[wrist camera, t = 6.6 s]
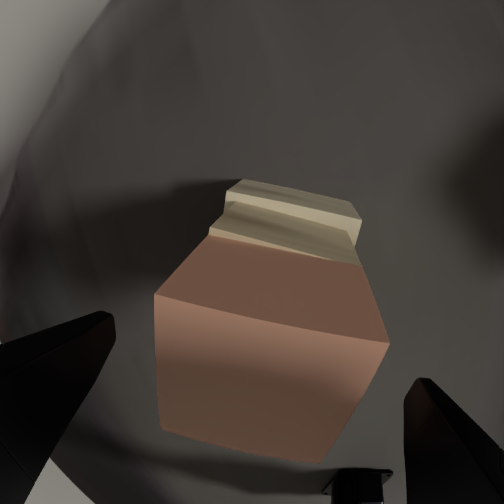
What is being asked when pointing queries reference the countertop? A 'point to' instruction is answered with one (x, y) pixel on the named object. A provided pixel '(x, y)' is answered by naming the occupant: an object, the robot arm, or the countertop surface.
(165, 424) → the terracotta block
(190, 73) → the countertop surface
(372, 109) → the countertop surface
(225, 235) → the tower mid
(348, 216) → the tower base
